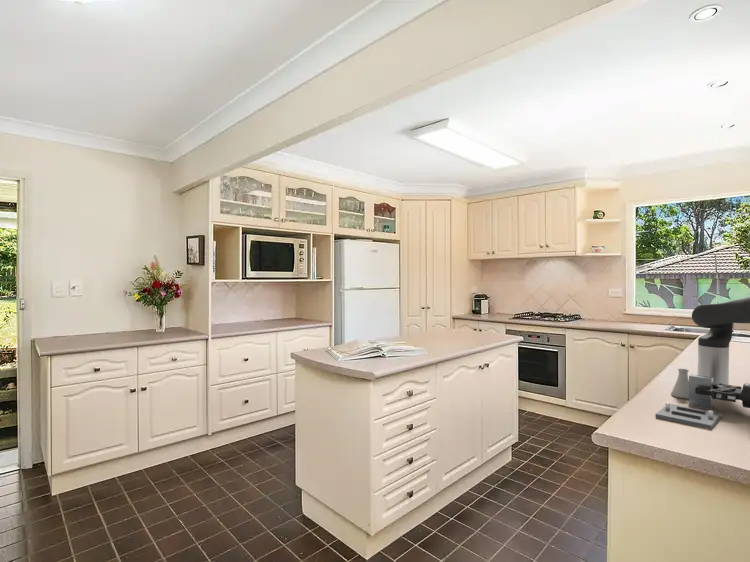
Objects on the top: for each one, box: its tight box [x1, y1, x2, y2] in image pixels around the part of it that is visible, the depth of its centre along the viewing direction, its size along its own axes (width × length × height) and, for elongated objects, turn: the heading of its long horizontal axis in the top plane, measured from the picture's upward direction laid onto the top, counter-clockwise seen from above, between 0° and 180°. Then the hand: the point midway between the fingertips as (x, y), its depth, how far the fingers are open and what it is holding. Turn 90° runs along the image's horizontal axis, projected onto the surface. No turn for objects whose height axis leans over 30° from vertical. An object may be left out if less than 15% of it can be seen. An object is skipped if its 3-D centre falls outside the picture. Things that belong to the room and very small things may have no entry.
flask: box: [670, 367, 690, 400], centre depth 154 cm, size 7×7×10 cm
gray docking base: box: [655, 402, 722, 430], centre depth 131 cm, size 14×16×3 cm
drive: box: [688, 374, 714, 410], centre depth 142 cm, size 6×4×10 cm, turn 43°
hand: (698, 387), depth 143 cm, fingers open, 8 cm apart
